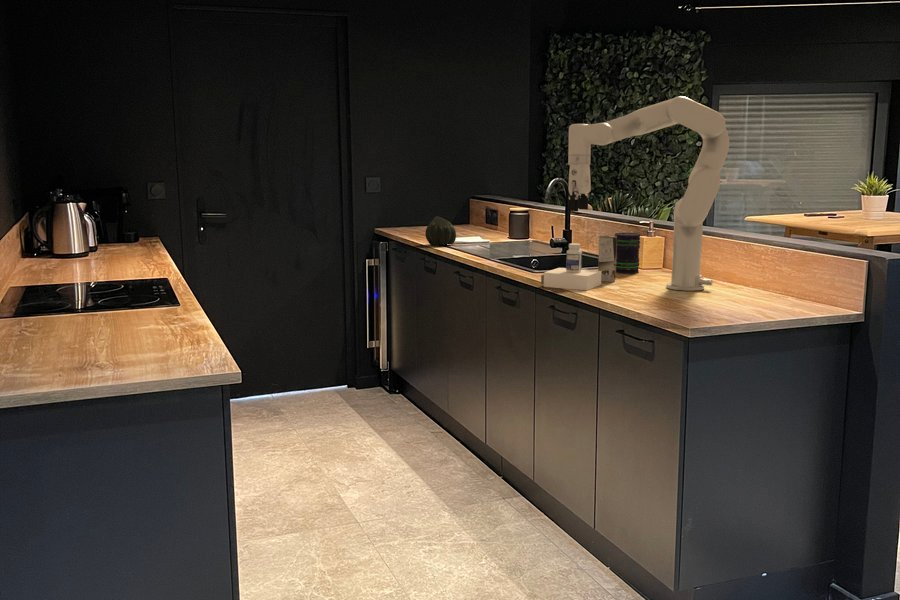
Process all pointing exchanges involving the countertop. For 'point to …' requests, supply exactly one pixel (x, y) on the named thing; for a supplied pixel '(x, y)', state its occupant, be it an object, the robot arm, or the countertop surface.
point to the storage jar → (627, 253)
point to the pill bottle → (574, 258)
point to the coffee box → (607, 257)
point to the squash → (440, 232)
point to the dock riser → (571, 279)
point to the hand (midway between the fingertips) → (578, 210)
